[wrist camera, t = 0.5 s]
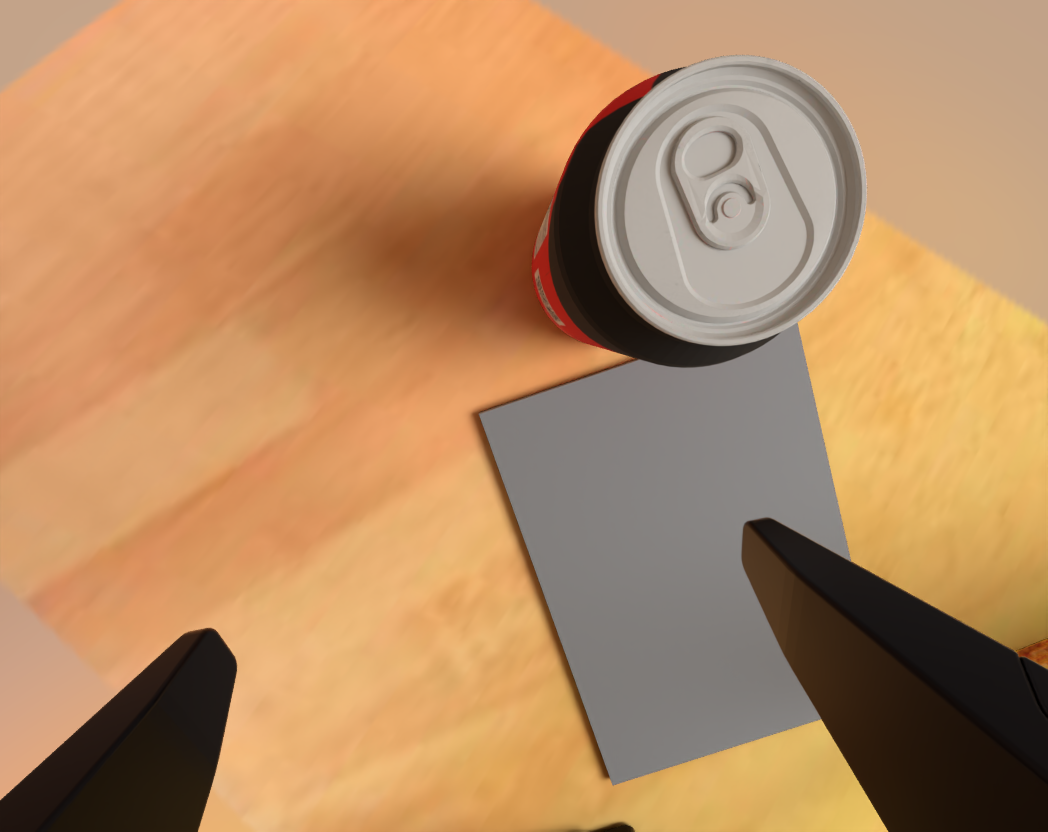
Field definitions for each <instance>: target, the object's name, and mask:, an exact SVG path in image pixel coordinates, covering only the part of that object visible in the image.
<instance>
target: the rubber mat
mask: <svg viewBox="0 0 1048 832" xmlns="http://www.w3.org/2000/svg"><path fill="white" fill-rule="evenodd" d="M479 416H480V419H481V422H482V424H483V427H484V430H485V433H486V435H487V438H488V441H489V444H490V447H491V449H492V452H493V455H494V458H495V460H496V463H497V466H498V469H499V471H500V474H501V477H502V480H503V483H504V485H505V488H506V491H507V494H508V496H509V499H510V502H511V505H512V508H513V510H514V513H515V516H516V519H517V521H518V524H519V527H520V530H521V532H522V535H523V538H524V541H525V544H526V546H527V549H528V552H529V555H530V557H531V560H532V563H533V566H534V569H535V571H536V574H537V577H538V580H539V582H540V585H541V588H542V591H543V593H544V596H545V599H546V602H547V605H548V607H549V610H550V613H551V616H552V618H553V621H554V624H555V627H556V630H557V632H558V635H559V638H560V641H561V643H562V646H563V649H564V652H565V654H566V657H567V660H568V663H569V666H570V668H571V671H572V674H573V677H574V679H575V682H576V685H577V688H578V690H579V693H580V696H581V699H582V702H583V704H584V707H585V710H586V713H587V715H588V718H589V721H590V724H591V727H592V729H593V732H594V735H595V738H596V740H597V743H598V746H599V749H600V751H601V754H602V757H603V760H604V763H605V765H606V768H607V771H608V774H609V776H610V779H611V782H612V785H616V784H619V783H622V782H625V781H628V780H631V779H635V778H638V777H641V776H644V775H647V774H650V773H653V772H657V771H660V770H663V769H666V768H669V767H672V766H675V765H679V764H682V763H685V762H688V761H691V760H694V759H697V758H701V757H704V756H707V755H710V754H713V753H716V752H719V751H723V750H726V749H729V748H732V747H735V746H738V745H741V744H744V743H748V742H751V741H754V740H757V739H760V738H763V737H766V736H770V735H773V734H776V733H779V732H782V731H785V730H788V729H792V728H795V727H798V726H801V725H804V724H807V723H810V722H814V721H817V720H820V719H821V718H820V716H819V714H818V712H817V711H816V709H815V707H814V706H813V704H812V702H811V701H810V699H809V697H808V696H807V694H806V692H805V691H804V689H803V687H802V686H801V684H800V682H799V681H798V679H797V677H796V676H795V674H794V672H793V671H792V669H791V667H790V665H789V663H788V662H787V660H786V658H785V656H784V654H783V652H782V650H781V648H780V646H779V644H778V642H777V640H776V638H775V636H774V633H773V631H772V629H771V627H770V625H769V623H768V621H767V618H766V616H765V614H764V612H763V610H762V608H761V605H760V603H759V601H758V599H757V597H756V595H755V592H754V590H753V588H752V586H751V584H750V582H749V579H748V577H747V575H746V573H745V571H744V568H743V565H742V560H741V550H742V533H743V525H744V523H745V522H747V521H749V520H754V519H759V518H764V517H769V518H772V519H775V520H776V521H778V522H780V523H782V524H784V525H786V526H787V527H789V528H791V529H793V530H795V531H796V532H798V533H800V534H802V535H804V536H806V537H807V538H809V539H811V540H813V541H815V542H817V543H818V544H820V545H822V546H824V547H826V548H828V549H829V550H831V551H833V552H835V553H837V554H838V555H840V556H842V557H844V558H846V559H848V560H849V561H851V559H850V554H849V550H848V546H847V541H846V537H845V532H844V528H843V523H842V519H841V514H840V510H839V506H838V501H837V497H836V492H835V488H834V483H833V479H832V474H831V470H830V466H829V461H828V457H827V452H826V448H825V443H824V439H823V434H822V430H821V426H820V421H819V417H818V412H817V408H816V403H815V399H814V395H813V390H812V386H811V381H810V377H809V372H808V368H807V363H806V359H805V355H804V350H803V346H802V341H801V337H800V332H799V328H798V323H795V324H794V325H792V326H791V327H789V328H787V329H785V330H783V331H782V332H781V333H780V334H779V335H777V336H776V337H775V338H773V339H772V340H770V341H769V342H767V343H766V344H764V345H763V346H761V347H759V348H757V349H755V350H753V351H752V352H750V353H747V354H745V355H743V356H740V357H738V358H736V359H733V360H730V361H727V362H724V363H720V364H715V365H711V366H704V367H696V368H679V367H668V366H663V365H657V364H654V363H650V362H647V361H643V360H640V359H636V360H633V361H630V362H627V363H624V364H621V365H618V366H615V367H612V368H609V369H606V370H603V371H600V372H597V373H594V374H591V375H588V376H585V377H583V378H580V379H577V380H574V381H571V382H568V383H565V384H562V385H559V386H556V387H553V388H550V389H547V390H544V391H541V392H538V393H535V394H532V395H529V396H526V397H523V398H521V399H518V400H515V401H512V402H509V403H506V404H503V405H500V406H497V407H494V408H491V409H488V410H485V411H482V412H479Z"/></svg>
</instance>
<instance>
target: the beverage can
mask: <svg viewBox="0 0 1048 832" xmlns="http://www.w3.org/2000/svg"><path fill="white" fill-rule="evenodd" d="M866 200H867V182H866V171H865V165H864V159H863V155H862V151H861V147H860V144H859V141H858V138H857V136H856V133H855V131H854V129H853V127H852V125H851V123H850V121H849V119H848V117H847V116H846V114H845V112H844V111H843V109H842V108H841V106H840V105H839V104H838V103H837V102H836V100H835V99H834V98H833V96H832V95H831V94H830V93H829V92H828V91H827V90H826V89H825V88H824V87H823V86H822V85H820V84H819V83H818V82H817V81H815V80H814V79H813V78H812V77H810V76H808V75H807V74H805V73H804V72H802V71H800V70H798V69H797V68H794V67H793V66H790V65H788V64H786V63H783V62H780V61H777V60H774V59H770V58H765V57H760V56H752V55H731V56H721V57H716V58H711V59H707V60H704V61H701V62H698V63H695V64H692V65H690V66H688V67H683V68H678V69H674V70H670V71H667V72H664V73H661V74H658V75H656V76H654V77H651V78H649V79H647V80H645V81H643V82H641V83H639V84H637V85H636V86H634V87H632V88H630V89H629V90H627V91H625V92H624V93H623V94H621V95H620V96H619V97H617V98H616V99H614V100H613V101H612V102H611V103H610V104H609V105H608V106H606V107H605V108H604V109H603V110H602V111H601V112H600V113H599V114H598V115H597V116H596V118H595V119H594V120H593V121H592V122H591V123H590V125H589V126H588V127H587V129H586V130H585V131H584V132H583V134H582V135H581V137H580V139H579V140H578V142H577V143H576V145H575V147H574V149H573V151H572V153H571V155H570V157H569V159H568V161H567V163H566V166H565V168H564V171H563V173H562V176H561V178H560V181H559V183H558V186H557V188H556V191H555V193H554V196H553V198H552V201H551V203H550V206H549V208H548V211H547V213H546V216H545V218H544V220H543V223H542V225H541V228H540V230H539V233H538V236H537V238H536V241H535V245H534V250H533V255H532V277H533V283H534V288H535V291H536V294H537V297H538V299H539V302H540V304H541V306H542V308H543V309H544V311H545V312H546V314H547V315H548V317H549V318H550V319H551V320H552V322H553V323H554V324H555V325H556V326H557V327H558V328H560V329H561V330H562V331H563V332H565V333H566V334H568V335H569V336H571V337H572V338H574V339H576V340H578V341H581V342H583V343H586V344H590V345H593V346H596V347H600V348H603V349H607V350H610V351H613V352H617V353H620V354H623V355H627V356H630V357H633V358H637V359H640V360H643V361H647V362H650V363H654V364H657V365H663V366H668V367H679V368H696V367H704V366H711V365H715V364H720V363H724V362H727V361H730V360H733V359H736V358H738V357H740V356H743V355H745V354H747V353H750V352H752V351H753V350H755V349H757V348H759V347H761V346H763V345H764V344H766V343H767V342H769V341H770V340H772V339H773V338H775V337H776V336H777V335H779V334H780V333H781V332H782V331H783V330H785V329H787V328H789V327H791V326H792V325H794V324H795V323H797V322H798V321H800V320H801V319H803V318H804V317H805V316H807V315H808V314H809V313H810V312H812V311H813V310H814V309H815V308H816V307H817V306H818V305H819V304H820V303H821V302H822V301H823V300H824V299H825V298H826V297H827V295H828V294H829V293H830V292H831V291H832V289H833V288H834V287H835V285H836V284H837V283H838V281H839V280H840V278H841V277H842V275H843V273H844V272H845V270H846V268H847V267H848V265H849V262H850V260H851V258H852V256H853V254H854V252H855V249H856V246H857V244H858V241H859V238H860V234H861V231H862V227H863V222H864V217H865V210H866Z"/></svg>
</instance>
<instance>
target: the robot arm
mask: <svg viewBox="0 0 1048 832" xmlns="http://www.w3.org/2000/svg"><path fill="white" fill-rule="evenodd" d="M741 560H742V565H743V568H744V571H745V573H746V575H747V577H748V579H749V582H750V584H751V586H752V588H753V590H754V592H755V595H756V597H757V599H758V601H759V603H760V605H761V608H762V610H763V612H764V614H765V616H766V618H767V621H768V623H769V625H770V627H771V629H772V631H773V633H774V636H775V638H776V640H777V642H778V644H779V646H780V648H781V650H782V652H783V654H784V656H785V658H786V660H787V662H788V663H789V665H790V667H791V669H792V671H793V672H794V674H795V676H796V677H797V679H798V681H799V682H800V684H801V686H802V687H803V689H804V691H805V692H806V694H807V696H808V697H809V699H810V701H811V702H812V704H813V706H814V707H815V709H816V711H817V712H818V714H819V716H820V718H821V719H822V721H823V723H824V724H825V726H826V728H827V729H828V731H829V733H830V734H831V736H832V738H833V739H834V741H835V743H836V744H837V746H838V748H839V749H840V751H841V753H842V754H843V756H844V758H845V759H846V761H847V763H848V765H849V766H850V768H851V770H852V771H853V773H854V775H855V776H856V778H857V780H858V781H859V783H860V785H861V786H862V788H863V790H864V791H865V793H866V795H867V796H868V798H869V800H870V801H871V803H872V805H873V807H874V808H875V810H876V812H877V813H878V815H879V817H880V818H881V820H882V822H883V823H884V825H885V827H886V828H887V830H888V832H1048V669H1047V668H1045V667H1043V666H1042V665H1040V664H1038V663H1036V662H1034V661H1032V660H1031V659H1029V658H1027V657H1024V656H1021V657H1019V655H1018V653H1017V652H1015V651H1014V650H1012V649H1010V648H1008V647H1006V646H1005V645H1003V644H1001V643H999V642H997V641H996V640H994V639H992V638H990V637H988V636H986V635H985V634H983V633H981V632H979V631H977V630H975V629H974V628H972V627H970V626H968V625H966V624H964V623H963V622H961V621H959V620H957V619H955V618H954V617H952V616H950V615H948V614H946V613H944V612H943V611H941V610H939V609H937V608H935V607H933V606H932V605H930V604H928V603H926V602H924V601H922V600H921V599H919V598H917V597H915V596H913V595H912V594H910V593H908V592H906V591H904V590H902V589H901V588H899V587H897V586H895V585H893V584H891V583H890V582H888V581H886V580H884V579H882V578H880V577H879V576H877V575H875V574H873V573H871V572H870V571H868V570H866V569H864V568H862V567H860V566H859V565H857V564H855V563H853V562H851V561H849V560H848V559H846V558H844V557H842V556H840V555H838V554H837V553H835V552H833V551H831V550H829V549H828V548H826V547H824V546H822V545H820V544H818V543H817V542H815V541H813V540H811V539H809V538H807V537H806V536H804V535H802V534H800V533H798V532H796V531H795V530H793V529H791V528H789V527H787V526H786V525H784V524H782V523H780V522H778V521H776V520H775V519H772V518H769V517H764V518H759V519H754V520H749V521H747V522H745V523H744V525H743V533H742V550H741ZM236 673H237V663H236V659H235V656H234V655H233V653H232V652H231V650H230V649H229V648H228V646H227V645H226V643H225V642H224V641H223V639H222V638H221V636H220V635H219V633H218V632H217V631H216V630H214V629H212V628H205V629H200V630H195V631H190V632H187V633H185V634H183V635H182V636H181V637H180V638H178V639H177V640H176V641H175V642H174V643H173V644H172V645H171V646H170V647H169V648H167V649H166V650H165V651H164V652H163V653H162V654H161V655H160V656H159V657H158V658H156V659H155V660H154V661H153V662H152V663H151V664H150V665H149V666H148V667H147V668H145V669H144V670H143V671H142V672H141V673H140V674H139V675H138V676H137V677H136V678H134V679H133V680H132V681H131V682H130V683H129V684H128V685H127V686H126V687H125V688H123V689H122V690H121V691H120V692H119V693H118V694H117V695H116V696H115V697H114V698H112V699H111V700H110V701H109V702H108V703H107V704H106V705H105V706H104V707H102V708H101V709H100V710H99V711H98V712H97V713H96V714H95V715H94V716H93V717H92V718H91V719H89V720H88V721H87V722H86V723H85V724H84V725H83V726H82V727H81V728H79V729H78V730H77V731H76V732H75V733H74V734H73V735H72V736H71V737H69V738H68V739H67V740H66V741H65V742H64V743H63V744H62V745H61V746H60V747H58V748H57V749H56V750H55V751H54V752H53V753H52V754H51V755H50V756H49V757H47V758H46V759H45V760H44V761H43V762H42V763H41V764H40V765H39V766H38V767H36V768H35V769H34V770H33V771H32V772H31V773H30V774H29V775H28V776H26V777H25V778H24V779H23V780H22V781H21V782H20V783H19V784H18V785H17V786H15V787H14V788H13V789H12V790H11V791H10V792H9V793H8V794H7V795H6V796H4V797H3V798H2V799H1V800H0V832H198V829H199V826H200V823H201V819H202V816H203V813H204V810H205V806H206V803H207V799H208V797H209V793H210V790H211V787H212V783H213V779H214V776H215V772H216V769H217V764H218V760H219V756H220V752H221V747H222V742H223V737H224V732H225V727H226V722H227V717H228V712H229V708H230V703H231V698H232V693H233V688H234V683H235V678H236ZM604 832H635V830H634V829H633V827H631V826H628V825H624V826H620V827H617V828H614V829H611V830H607V831H604Z"/></svg>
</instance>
